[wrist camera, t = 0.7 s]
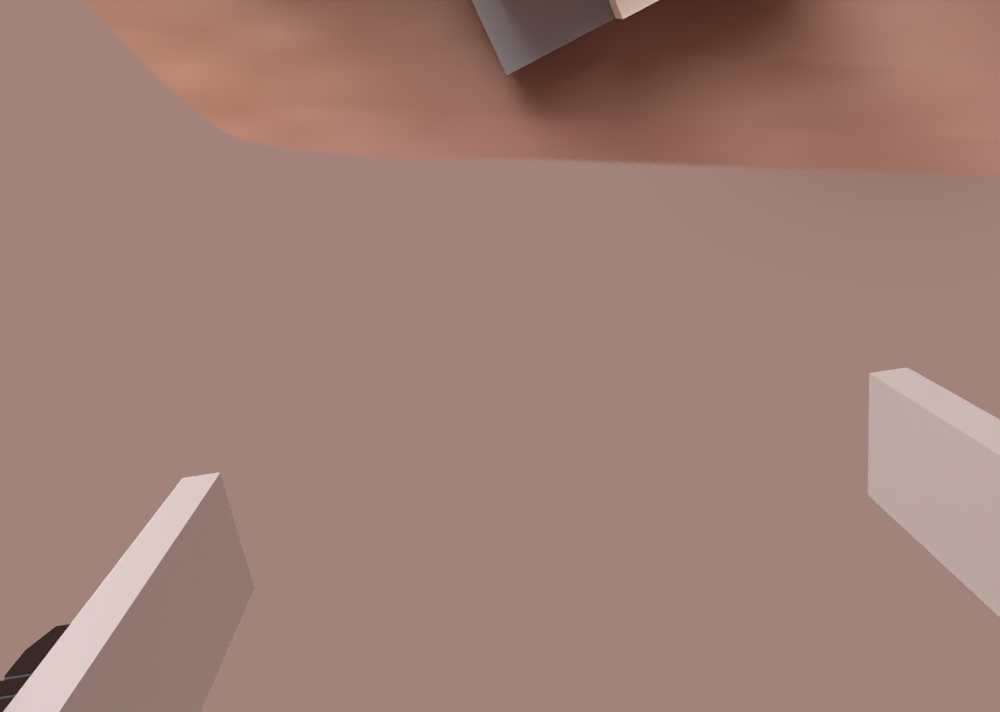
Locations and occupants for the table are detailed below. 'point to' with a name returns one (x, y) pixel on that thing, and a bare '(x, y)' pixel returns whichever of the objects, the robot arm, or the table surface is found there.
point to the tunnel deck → (545, 24)
